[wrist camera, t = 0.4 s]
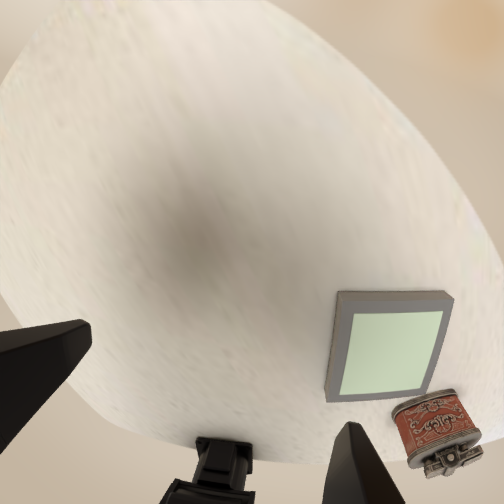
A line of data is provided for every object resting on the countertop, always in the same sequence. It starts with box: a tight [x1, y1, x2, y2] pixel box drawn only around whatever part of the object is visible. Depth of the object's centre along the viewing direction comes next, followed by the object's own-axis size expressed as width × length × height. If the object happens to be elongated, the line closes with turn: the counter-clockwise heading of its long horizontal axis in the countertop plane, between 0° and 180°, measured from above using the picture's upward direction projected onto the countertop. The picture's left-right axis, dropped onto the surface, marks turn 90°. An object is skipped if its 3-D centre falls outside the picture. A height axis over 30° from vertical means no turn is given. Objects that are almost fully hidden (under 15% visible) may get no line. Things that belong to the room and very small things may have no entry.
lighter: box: [392, 389, 484, 479], centre depth 20 cm, size 8×3×10 cm, turn 100°
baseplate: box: [325, 291, 454, 402], centre depth 22 cm, size 10×10×2 cm
